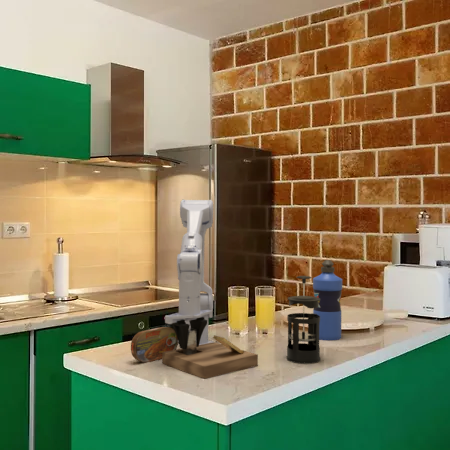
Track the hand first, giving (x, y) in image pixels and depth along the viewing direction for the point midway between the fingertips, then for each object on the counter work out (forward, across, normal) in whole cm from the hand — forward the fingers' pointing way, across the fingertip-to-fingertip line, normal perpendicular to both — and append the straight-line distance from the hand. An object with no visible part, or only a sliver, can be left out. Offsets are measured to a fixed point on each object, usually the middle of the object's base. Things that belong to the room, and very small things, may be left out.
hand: (189, 347), depth 153 cm
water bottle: (+4, +53, -4) cm, 53 cm away
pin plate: (+4, +3, -5) cm, 7 cm away
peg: (+2, 0, 0) cm, 2 cm away
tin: (+4, -5, +9) cm, 11 cm away
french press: (+4, +27, -17) cm, 32 cm away
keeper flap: (-1, +6, -9) cm, 11 cm away
